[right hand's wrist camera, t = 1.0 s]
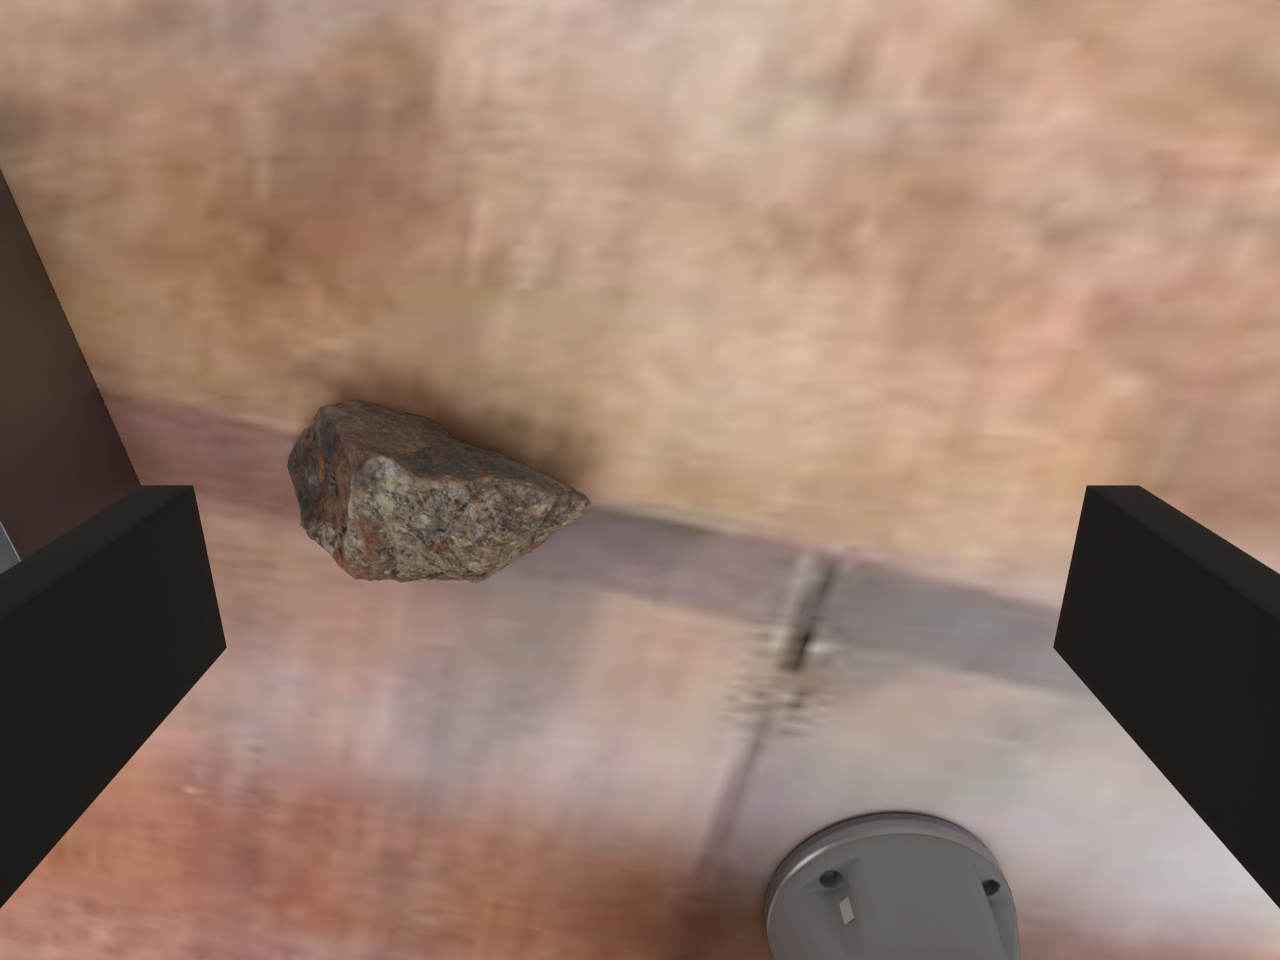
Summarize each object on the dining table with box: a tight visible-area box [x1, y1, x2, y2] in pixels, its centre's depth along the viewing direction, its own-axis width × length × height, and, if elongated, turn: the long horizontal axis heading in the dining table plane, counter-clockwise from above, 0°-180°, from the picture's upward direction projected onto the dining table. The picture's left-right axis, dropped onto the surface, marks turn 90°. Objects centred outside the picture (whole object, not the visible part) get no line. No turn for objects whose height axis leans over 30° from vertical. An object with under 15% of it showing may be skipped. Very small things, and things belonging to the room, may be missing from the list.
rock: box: [288, 400, 591, 583], centre depth 38 cm, size 14×9×10 cm
